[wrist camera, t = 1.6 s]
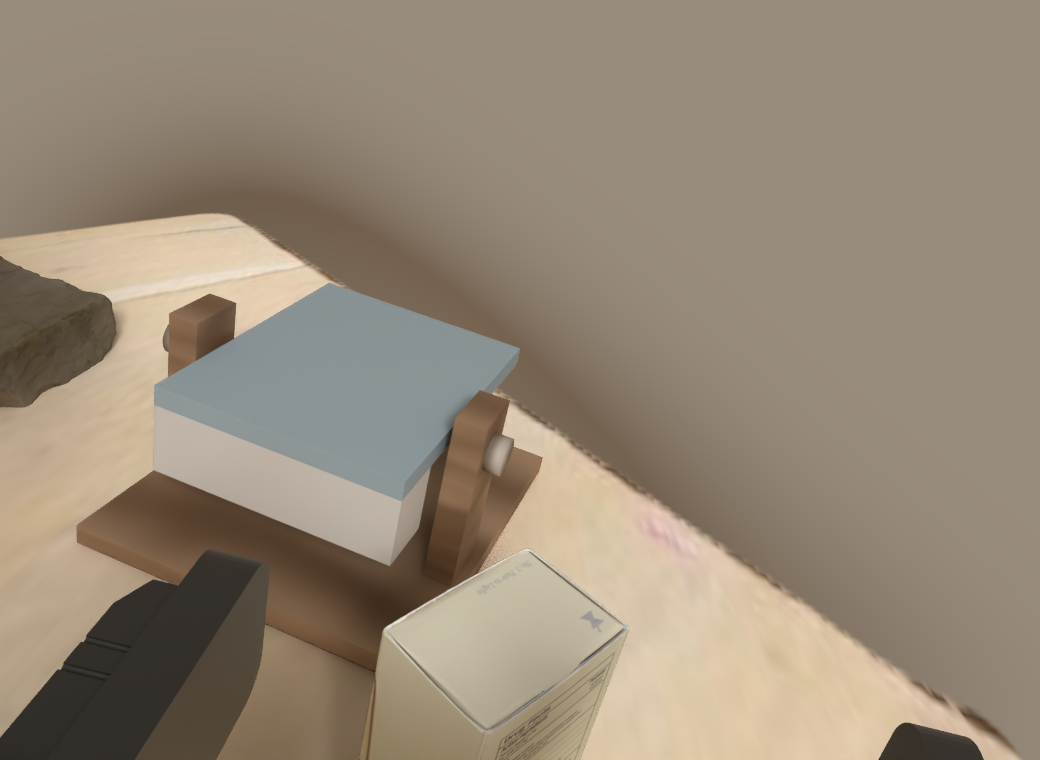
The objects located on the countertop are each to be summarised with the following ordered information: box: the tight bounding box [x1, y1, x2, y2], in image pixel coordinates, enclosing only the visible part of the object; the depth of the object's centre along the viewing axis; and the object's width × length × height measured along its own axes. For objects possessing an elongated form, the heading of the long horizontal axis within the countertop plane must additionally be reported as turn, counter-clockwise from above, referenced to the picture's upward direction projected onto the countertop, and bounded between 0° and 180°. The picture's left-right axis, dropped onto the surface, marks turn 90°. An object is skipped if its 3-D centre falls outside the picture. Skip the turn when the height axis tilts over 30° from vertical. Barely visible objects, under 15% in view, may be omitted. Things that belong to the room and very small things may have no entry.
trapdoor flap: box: [153, 283, 520, 566], centre depth 44 cm, size 15×12×4 cm
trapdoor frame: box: [77, 294, 543, 671], centre depth 44 cm, size 19×18×10 cm
